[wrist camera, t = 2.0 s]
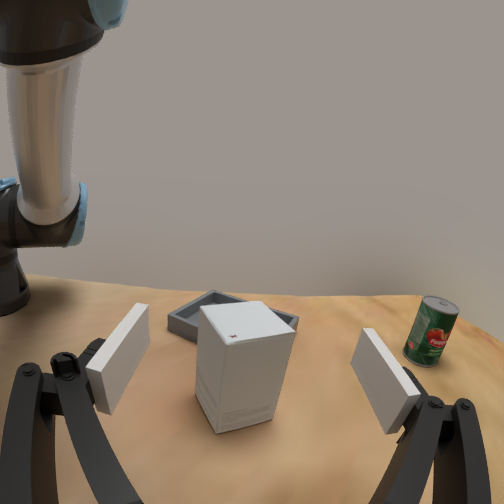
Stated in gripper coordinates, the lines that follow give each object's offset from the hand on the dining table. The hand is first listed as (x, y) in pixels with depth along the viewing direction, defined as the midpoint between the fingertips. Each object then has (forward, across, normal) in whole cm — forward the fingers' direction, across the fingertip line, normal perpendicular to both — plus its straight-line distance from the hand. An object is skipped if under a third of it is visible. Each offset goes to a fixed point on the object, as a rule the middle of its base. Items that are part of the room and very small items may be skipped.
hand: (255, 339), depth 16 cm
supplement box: (+10, 0, -17) cm, 20 cm away
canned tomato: (+23, +34, -17) cm, 44 cm away
